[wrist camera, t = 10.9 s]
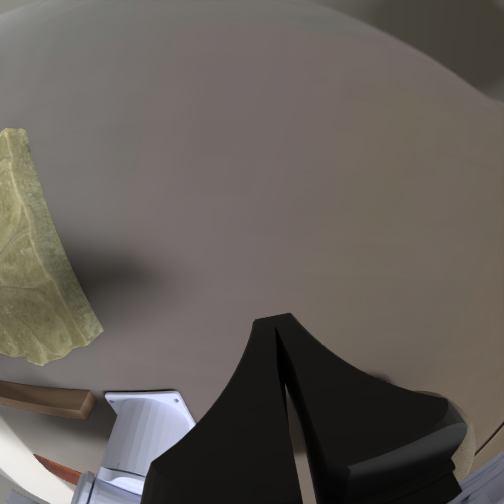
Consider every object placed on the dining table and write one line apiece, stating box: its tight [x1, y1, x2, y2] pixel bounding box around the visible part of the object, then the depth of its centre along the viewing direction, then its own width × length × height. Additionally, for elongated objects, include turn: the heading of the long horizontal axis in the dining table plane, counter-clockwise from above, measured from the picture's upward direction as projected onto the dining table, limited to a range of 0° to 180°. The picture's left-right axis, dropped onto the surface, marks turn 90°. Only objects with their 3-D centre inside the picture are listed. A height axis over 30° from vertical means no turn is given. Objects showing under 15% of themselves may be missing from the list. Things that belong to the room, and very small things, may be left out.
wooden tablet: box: [33, 454, 82, 485], centre depth 31 cm, size 27×10×2 cm, turn 81°
